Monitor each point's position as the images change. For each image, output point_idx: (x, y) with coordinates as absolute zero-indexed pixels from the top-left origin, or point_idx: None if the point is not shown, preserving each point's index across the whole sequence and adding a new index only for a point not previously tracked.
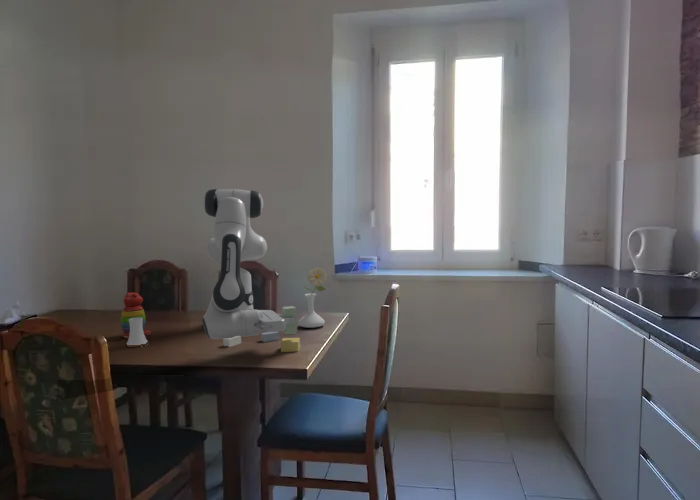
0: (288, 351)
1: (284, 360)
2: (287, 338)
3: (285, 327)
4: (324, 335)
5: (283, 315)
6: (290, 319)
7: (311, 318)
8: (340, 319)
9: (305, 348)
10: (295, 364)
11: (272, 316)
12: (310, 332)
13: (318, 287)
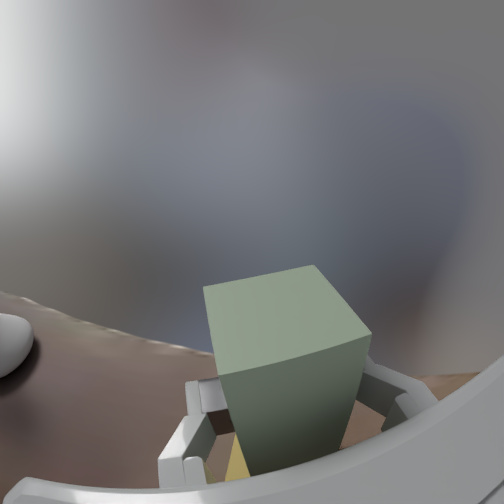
0: None
1: None
2: (236, 476)
3: (335, 444)
4: (115, 347)
5: (281, 419)
6: (370, 366)
7: (5, 334)
8: (12, 297)
9: None
10: None
11: (428, 495)
12: (53, 374)
13: None
